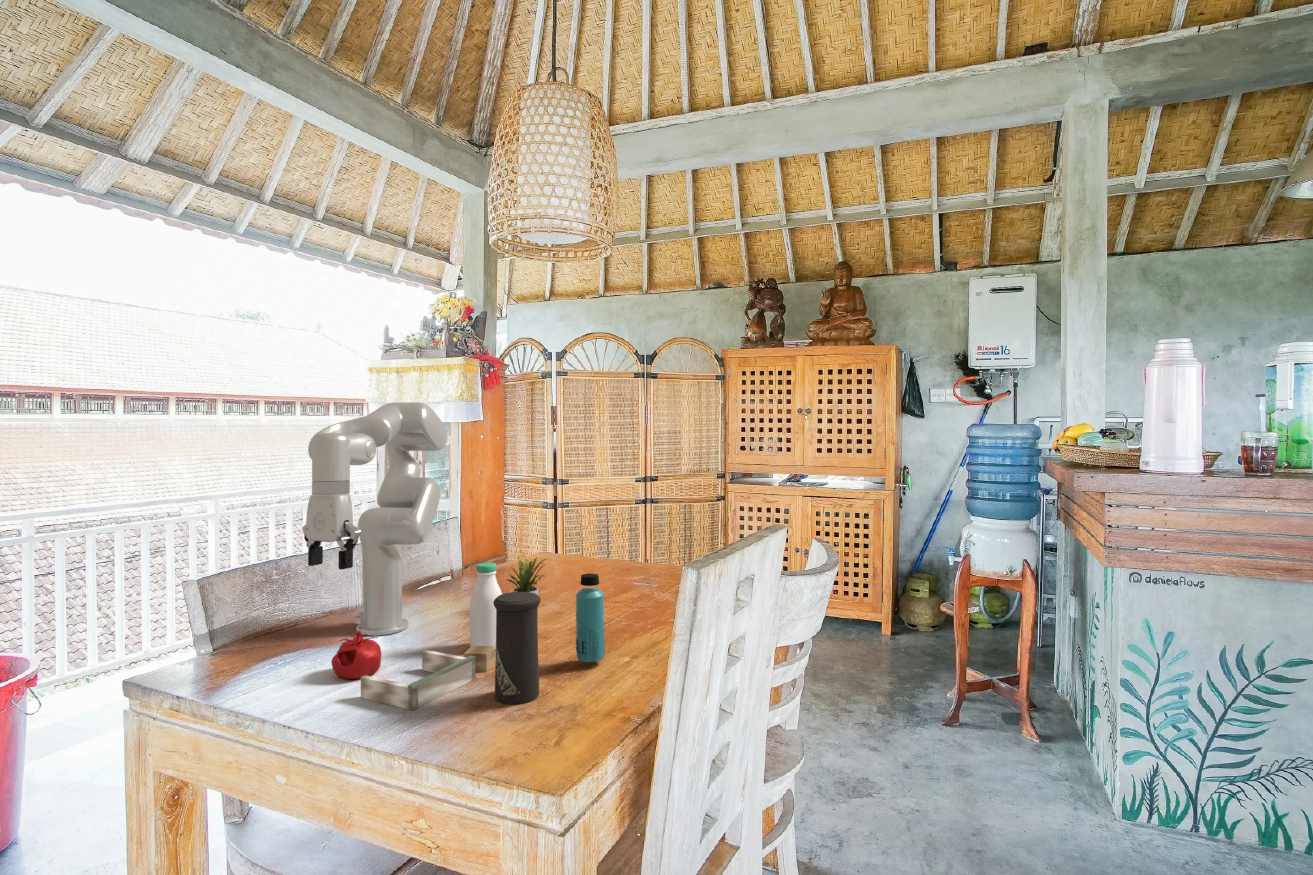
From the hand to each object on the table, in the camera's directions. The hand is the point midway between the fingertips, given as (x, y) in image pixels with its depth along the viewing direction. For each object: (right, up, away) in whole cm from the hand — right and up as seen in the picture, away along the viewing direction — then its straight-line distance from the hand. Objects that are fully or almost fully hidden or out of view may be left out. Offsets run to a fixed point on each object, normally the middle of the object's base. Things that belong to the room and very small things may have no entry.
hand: (330, 566), depth 144 cm
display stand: (+25, -22, -12) cm, 35 cm away
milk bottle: (+31, -22, +12) cm, 40 cm away
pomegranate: (+8, -22, -5) cm, 24 cm away
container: (+45, -22, -16) cm, 53 cm away
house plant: (+36, -21, +43) cm, 60 cm away
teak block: (+33, -22, -1) cm, 40 cm away
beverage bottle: (+57, -22, +1) cm, 61 cm away
